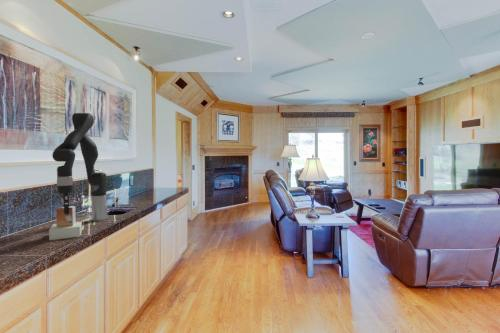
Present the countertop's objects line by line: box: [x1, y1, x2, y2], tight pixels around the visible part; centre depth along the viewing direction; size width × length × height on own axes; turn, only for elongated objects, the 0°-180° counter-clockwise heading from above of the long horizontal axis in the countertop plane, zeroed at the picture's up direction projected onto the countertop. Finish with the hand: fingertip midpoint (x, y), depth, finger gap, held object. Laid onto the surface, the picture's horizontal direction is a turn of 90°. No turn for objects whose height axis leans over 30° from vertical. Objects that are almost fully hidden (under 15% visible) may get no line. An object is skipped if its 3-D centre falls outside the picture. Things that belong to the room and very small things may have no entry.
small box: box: [55, 205, 77, 227], centre depth 154 cm, size 8×6×10 cm
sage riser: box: [48, 220, 83, 241], centre depth 155 cm, size 14×14×6 cm
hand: (66, 212), depth 155 cm, fingers open, 8 cm apart
